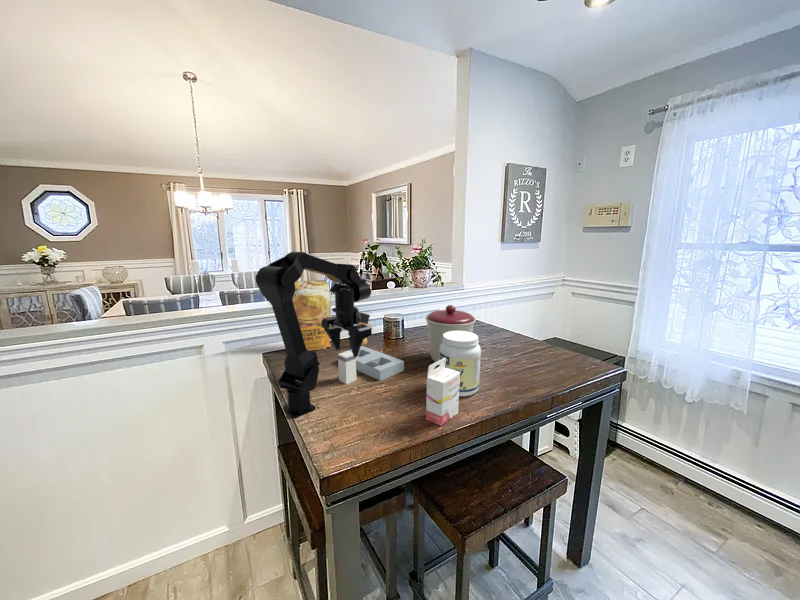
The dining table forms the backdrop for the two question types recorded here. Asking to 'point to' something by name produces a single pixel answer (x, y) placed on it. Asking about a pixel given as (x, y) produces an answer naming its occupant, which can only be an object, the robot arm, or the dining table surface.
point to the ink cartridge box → (442, 393)
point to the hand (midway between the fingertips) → (346, 352)
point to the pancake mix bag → (313, 312)
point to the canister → (446, 326)
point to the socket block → (377, 363)
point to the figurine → (365, 338)
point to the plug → (347, 367)
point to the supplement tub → (462, 358)
